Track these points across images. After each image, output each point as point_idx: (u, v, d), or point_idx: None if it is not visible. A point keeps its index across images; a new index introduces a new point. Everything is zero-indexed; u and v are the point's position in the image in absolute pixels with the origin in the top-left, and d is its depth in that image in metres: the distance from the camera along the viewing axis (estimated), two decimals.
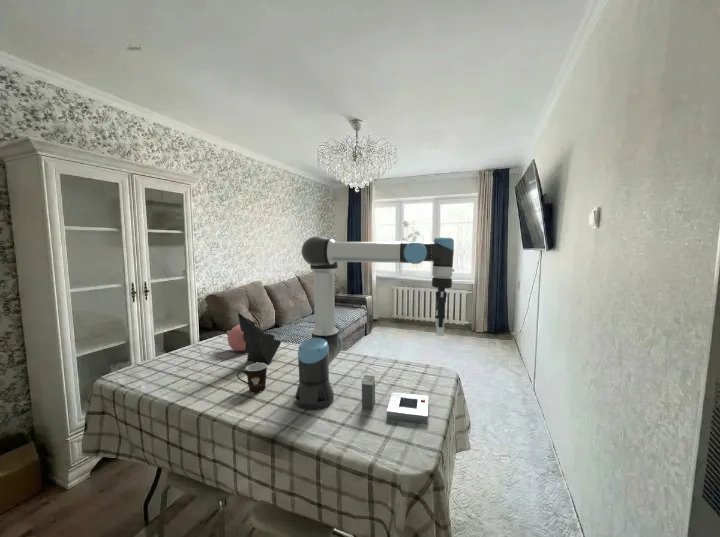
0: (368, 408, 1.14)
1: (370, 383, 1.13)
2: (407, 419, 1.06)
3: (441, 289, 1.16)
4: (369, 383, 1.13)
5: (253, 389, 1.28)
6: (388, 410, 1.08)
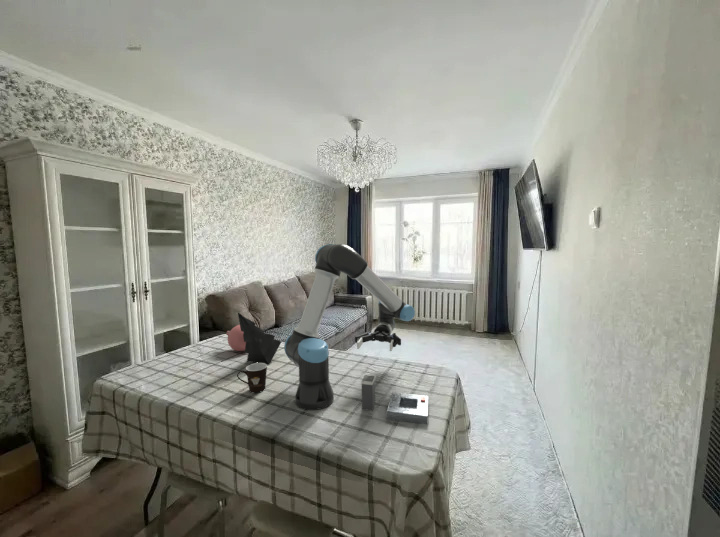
0: (368, 408, 1.14)
1: (370, 383, 1.13)
2: (407, 419, 1.06)
3: (389, 334, 1.40)
4: (369, 383, 1.13)
5: (253, 389, 1.28)
6: (388, 410, 1.08)
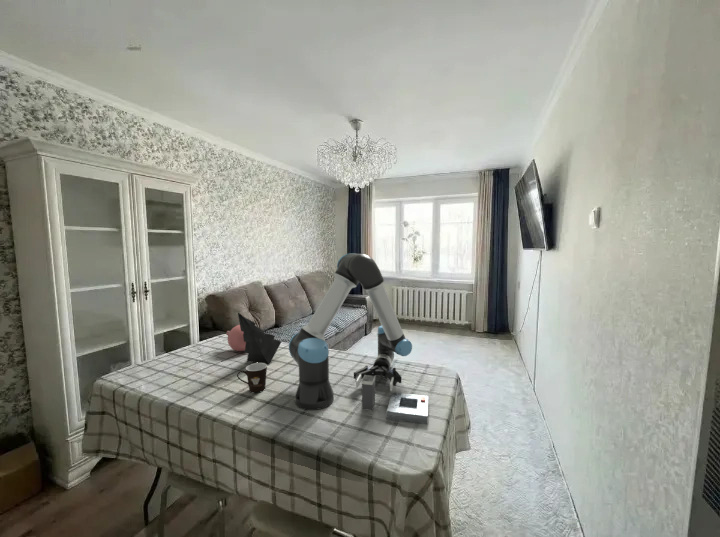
0: (368, 408, 1.14)
1: (370, 383, 1.13)
2: (407, 419, 1.06)
3: (389, 369, 1.36)
4: (369, 383, 1.13)
5: (253, 389, 1.28)
6: (388, 410, 1.08)
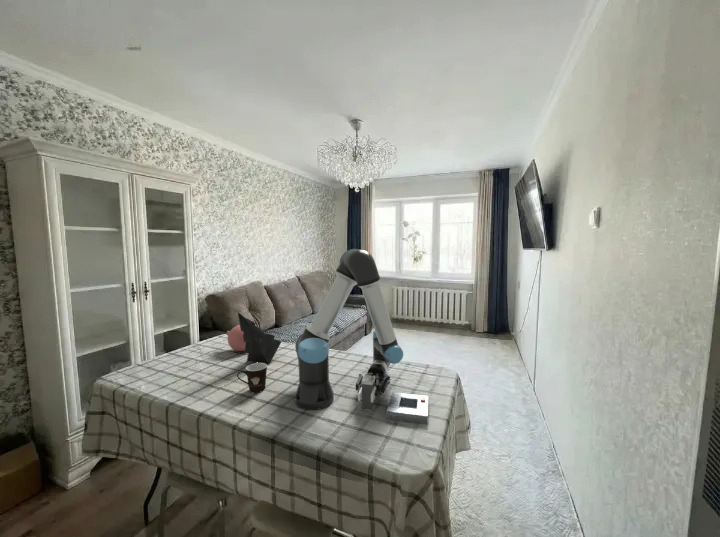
0: (368, 408, 1.14)
1: (370, 383, 1.13)
2: (407, 419, 1.06)
3: (385, 377, 1.27)
4: (369, 383, 1.13)
5: (253, 389, 1.28)
6: (388, 410, 1.08)
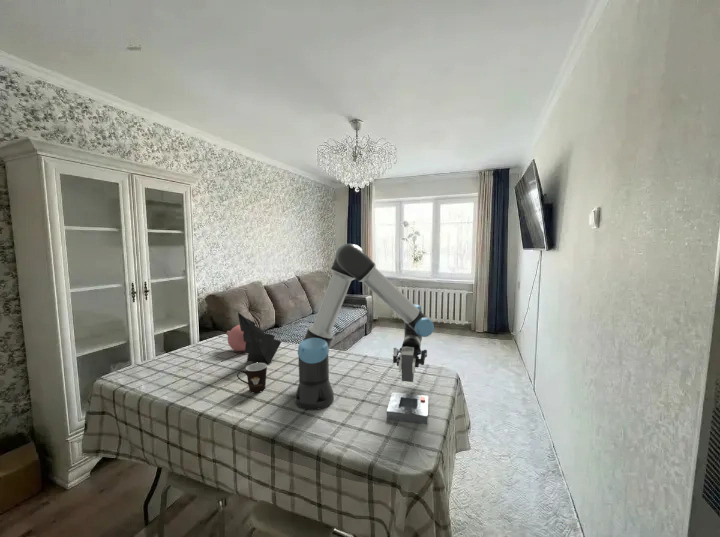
0: (408, 380, 1.09)
1: (410, 353, 1.08)
2: (407, 419, 1.06)
3: None
4: (409, 353, 1.08)
5: (253, 389, 1.28)
6: (388, 410, 1.08)
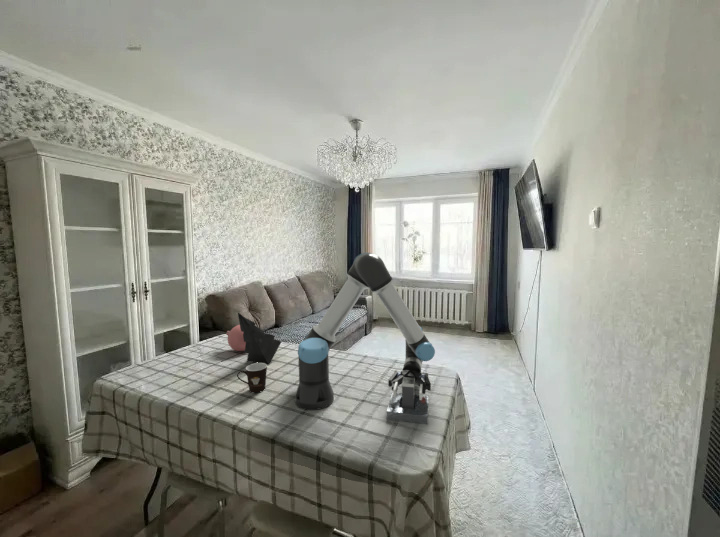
0: None
1: (411, 385, 1.09)
2: (407, 419, 1.06)
3: (421, 374, 1.24)
4: (410, 385, 1.09)
5: (253, 389, 1.28)
6: (388, 410, 1.08)
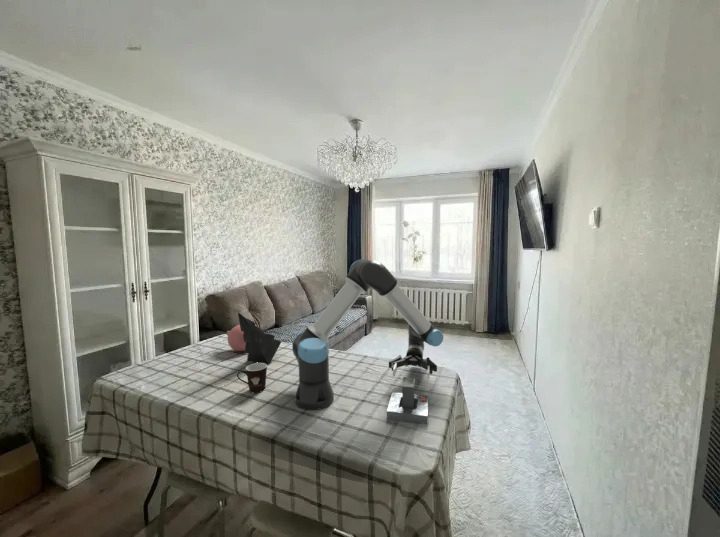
0: None
1: (411, 385, 1.09)
2: (407, 419, 1.06)
3: (422, 358, 1.37)
4: (410, 385, 1.09)
5: (253, 389, 1.28)
6: (388, 410, 1.08)
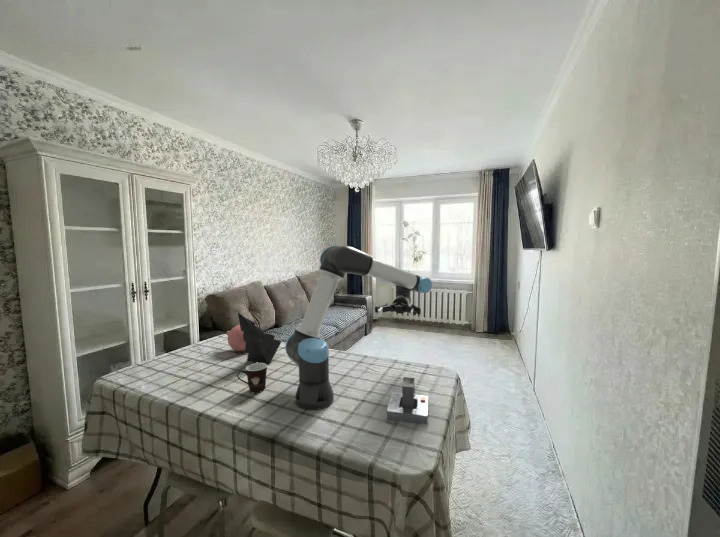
0: None
1: (411, 385, 1.09)
2: (407, 419, 1.06)
3: None
4: (410, 385, 1.09)
5: (253, 389, 1.28)
6: (388, 410, 1.08)
